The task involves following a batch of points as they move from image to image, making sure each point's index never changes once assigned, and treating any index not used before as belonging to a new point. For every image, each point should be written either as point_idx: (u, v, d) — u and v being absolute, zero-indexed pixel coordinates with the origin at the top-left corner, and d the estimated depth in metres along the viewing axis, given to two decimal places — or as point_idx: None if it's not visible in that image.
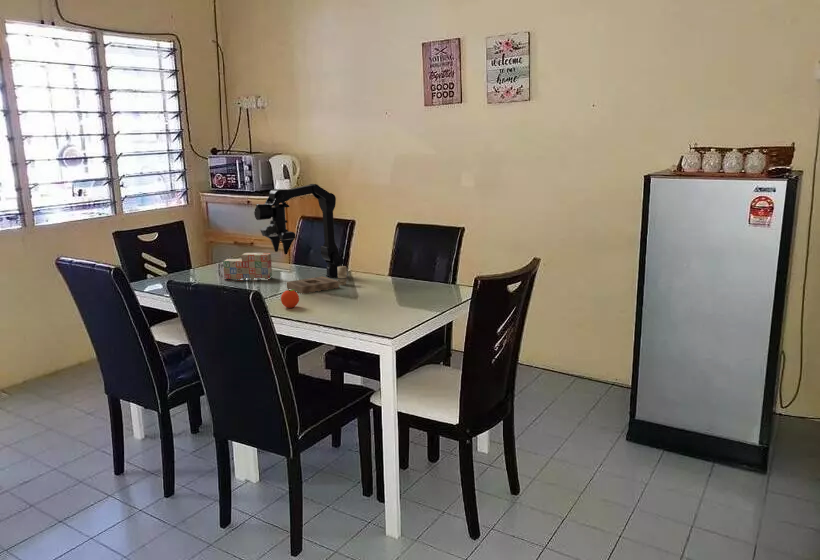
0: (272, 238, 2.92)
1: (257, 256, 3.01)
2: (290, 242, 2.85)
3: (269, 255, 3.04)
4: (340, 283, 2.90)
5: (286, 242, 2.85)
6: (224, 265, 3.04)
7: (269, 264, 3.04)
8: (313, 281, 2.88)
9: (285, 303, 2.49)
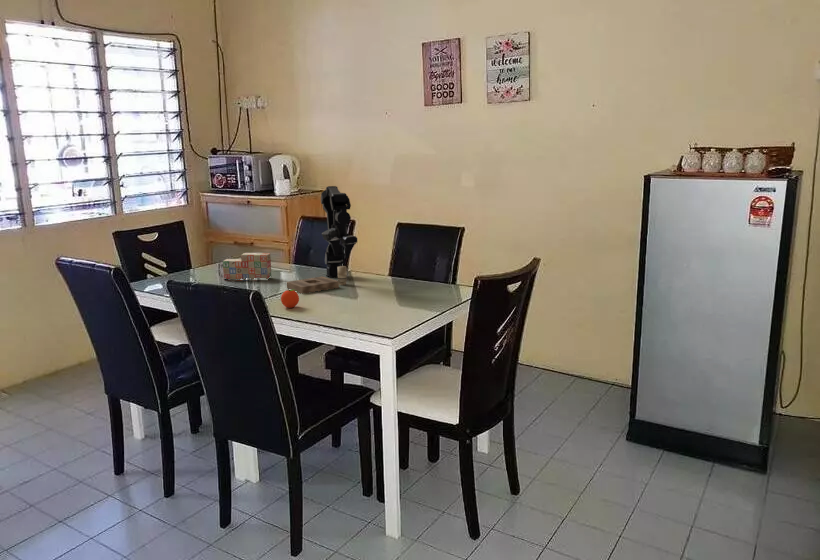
0: (332, 242, 2.91)
1: (257, 256, 3.01)
2: (351, 246, 2.84)
3: (268, 255, 3.04)
4: (340, 283, 2.90)
5: (348, 246, 2.84)
6: (224, 265, 3.03)
7: (268, 264, 3.04)
8: (313, 281, 2.88)
9: (285, 303, 2.49)
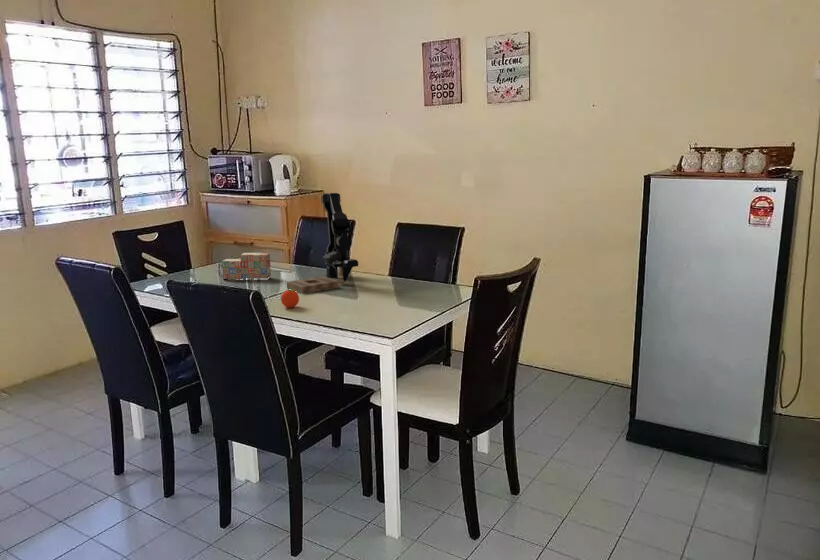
0: (336, 266, 2.92)
1: (256, 256, 3.01)
2: (350, 269, 2.88)
3: (268, 255, 3.05)
4: (340, 283, 2.90)
5: (346, 269, 2.88)
6: (223, 265, 3.03)
7: (268, 264, 3.04)
8: (313, 281, 2.88)
9: (285, 303, 2.49)
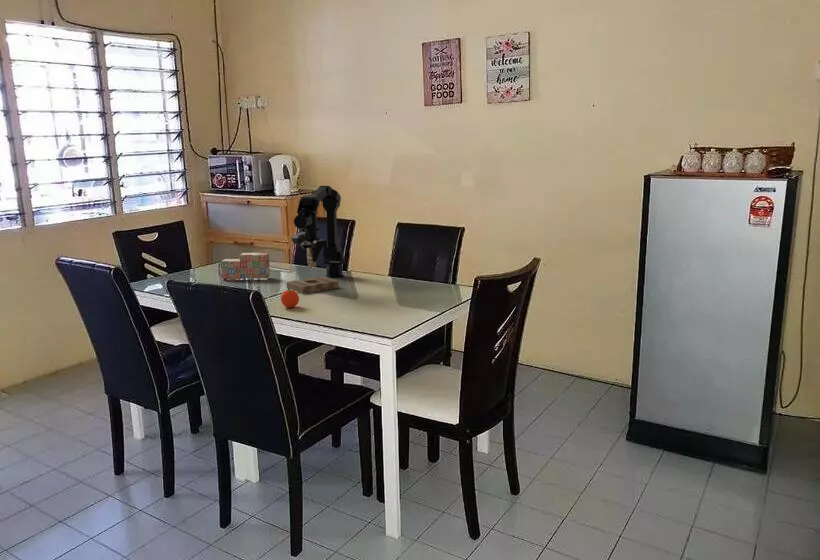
0: (305, 247, 2.83)
1: (255, 256, 3.01)
2: (319, 250, 2.80)
3: (267, 255, 3.05)
4: (309, 264, 2.82)
5: (315, 250, 2.79)
6: (222, 265, 3.03)
7: (267, 264, 3.05)
8: (313, 281, 2.88)
9: (285, 303, 2.49)
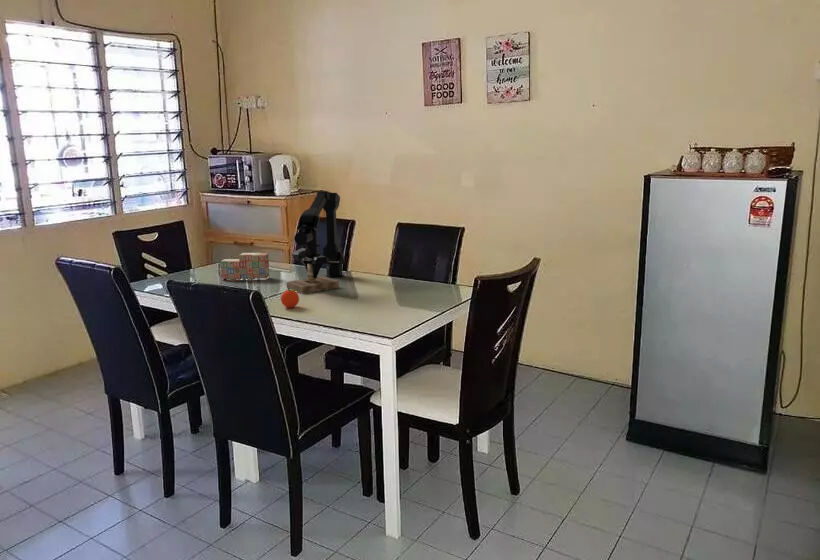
0: (306, 263, 2.84)
1: (255, 256, 3.01)
2: (320, 266, 2.81)
3: (266, 255, 3.05)
4: (310, 280, 2.83)
5: (316, 266, 2.81)
6: (222, 265, 3.03)
7: (267, 264, 3.05)
8: None
9: (285, 303, 2.49)
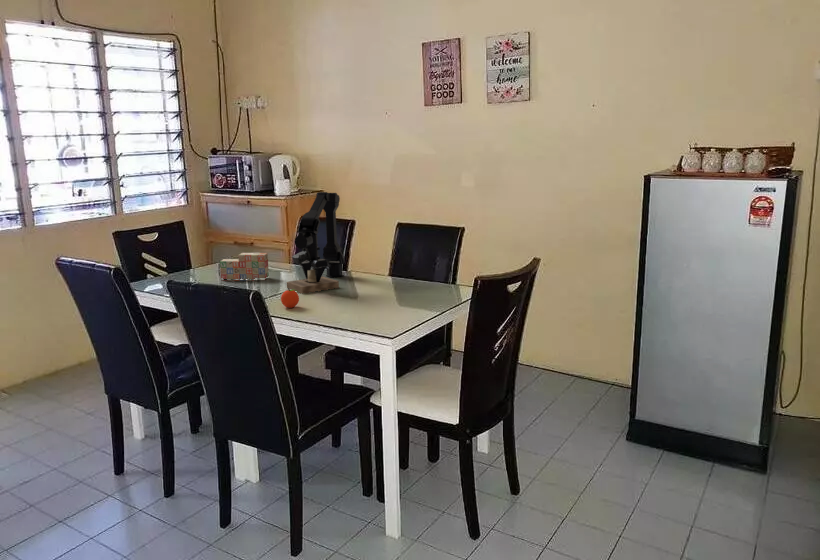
0: (303, 265, 2.86)
1: (254, 256, 3.01)
2: (322, 270, 2.80)
3: (266, 255, 3.05)
4: None
5: (318, 270, 2.79)
6: (221, 265, 3.03)
7: (266, 264, 3.05)
8: None
9: (285, 303, 2.49)
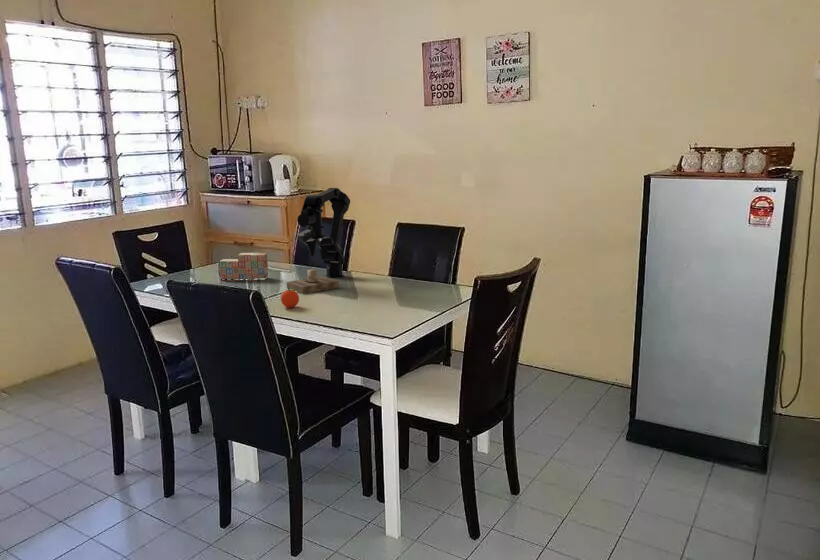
0: (308, 243, 2.95)
1: (253, 256, 3.01)
2: (327, 247, 2.88)
3: (265, 255, 3.05)
4: None
5: (323, 247, 2.88)
6: (220, 265, 3.03)
7: (265, 264, 3.05)
8: None
9: (285, 303, 2.49)
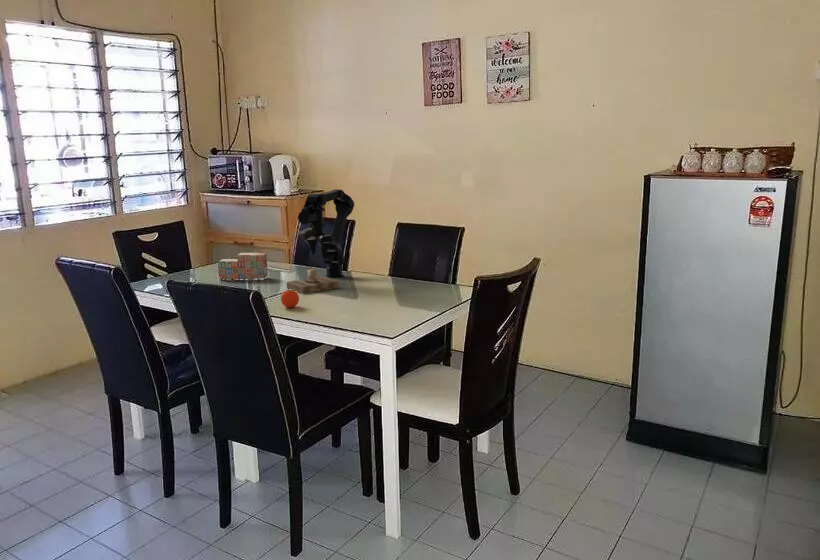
0: (309, 241, 2.98)
1: (253, 256, 3.01)
2: (328, 245, 2.91)
3: (265, 255, 3.05)
4: None
5: (324, 245, 2.90)
6: (220, 265, 3.03)
7: (265, 264, 3.05)
8: None
9: (285, 303, 2.49)
